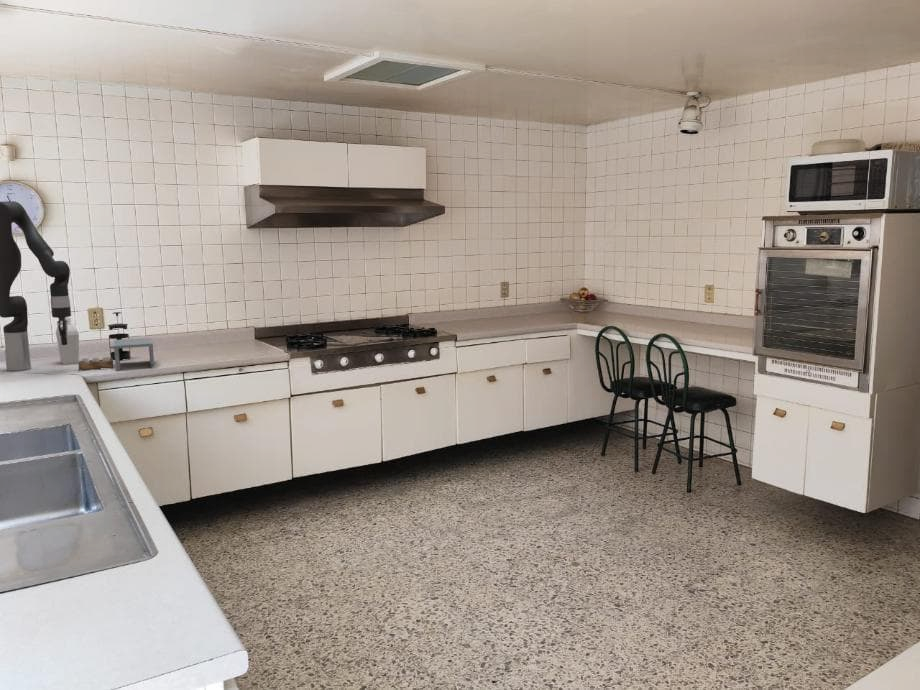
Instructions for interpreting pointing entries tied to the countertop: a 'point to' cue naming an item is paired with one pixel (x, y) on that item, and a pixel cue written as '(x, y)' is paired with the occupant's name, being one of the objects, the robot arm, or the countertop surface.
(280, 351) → the countertop surface
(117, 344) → the grey small table
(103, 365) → the tray
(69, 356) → the soap bottle
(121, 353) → the french press
